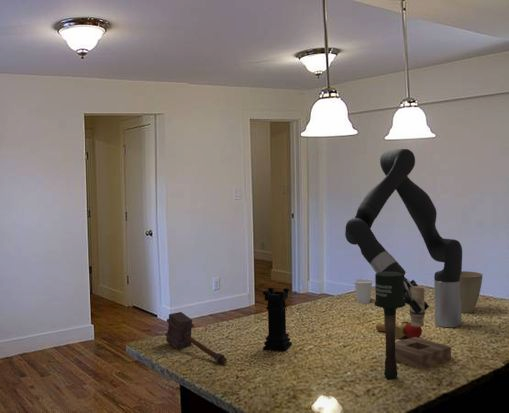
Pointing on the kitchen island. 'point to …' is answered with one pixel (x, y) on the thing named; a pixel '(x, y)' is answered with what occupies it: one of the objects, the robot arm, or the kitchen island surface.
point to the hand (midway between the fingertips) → (423, 310)
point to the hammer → (186, 335)
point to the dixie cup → (363, 290)
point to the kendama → (403, 330)
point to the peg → (418, 296)
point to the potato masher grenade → (390, 312)
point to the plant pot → (469, 290)
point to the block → (421, 352)
